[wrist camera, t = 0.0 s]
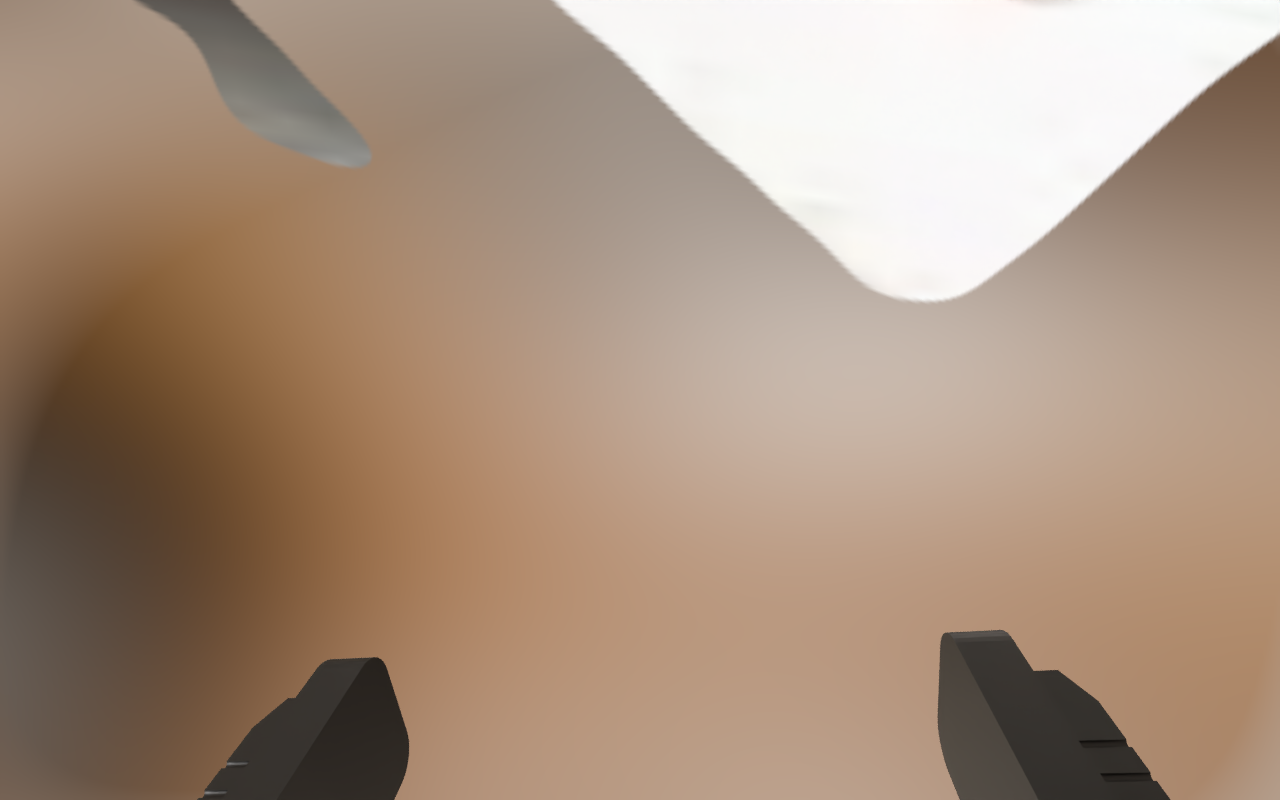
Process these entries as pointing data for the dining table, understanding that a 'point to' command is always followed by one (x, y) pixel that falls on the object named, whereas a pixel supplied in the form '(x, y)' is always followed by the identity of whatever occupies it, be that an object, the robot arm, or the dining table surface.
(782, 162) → the dining table surface
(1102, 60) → the dining table surface
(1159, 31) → the dining table surface
